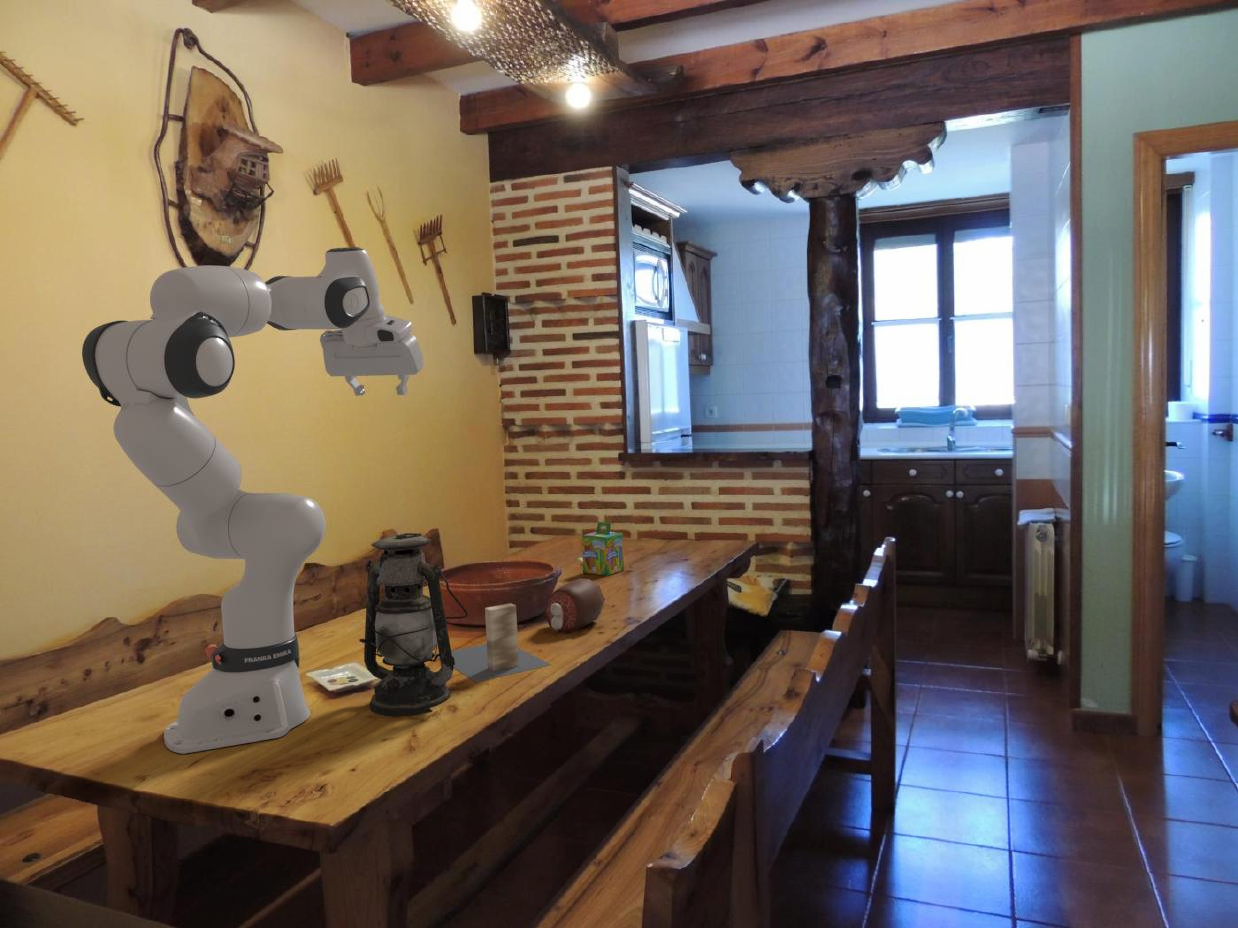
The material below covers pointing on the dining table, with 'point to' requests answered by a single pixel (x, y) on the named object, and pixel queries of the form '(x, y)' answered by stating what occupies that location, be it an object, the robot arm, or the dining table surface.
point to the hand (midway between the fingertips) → (381, 394)
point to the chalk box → (603, 551)
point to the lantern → (406, 629)
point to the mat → (476, 663)
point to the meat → (574, 605)
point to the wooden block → (501, 637)
